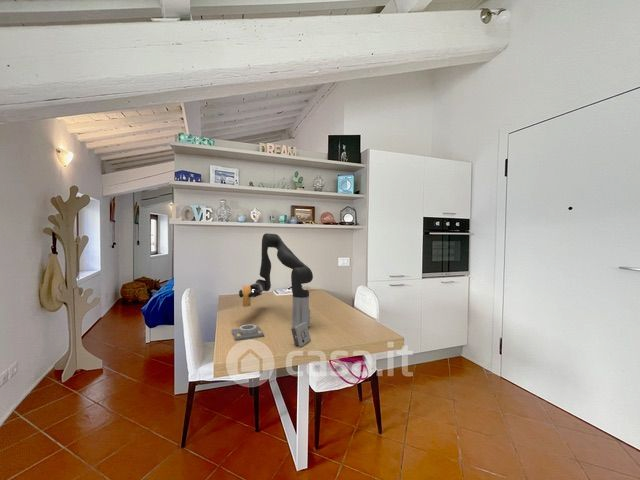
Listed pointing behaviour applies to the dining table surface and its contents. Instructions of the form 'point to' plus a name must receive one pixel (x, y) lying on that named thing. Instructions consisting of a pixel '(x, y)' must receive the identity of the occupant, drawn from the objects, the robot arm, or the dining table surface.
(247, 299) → the wire nut
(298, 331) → the electrical switch
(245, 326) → the grey square mounting plate
